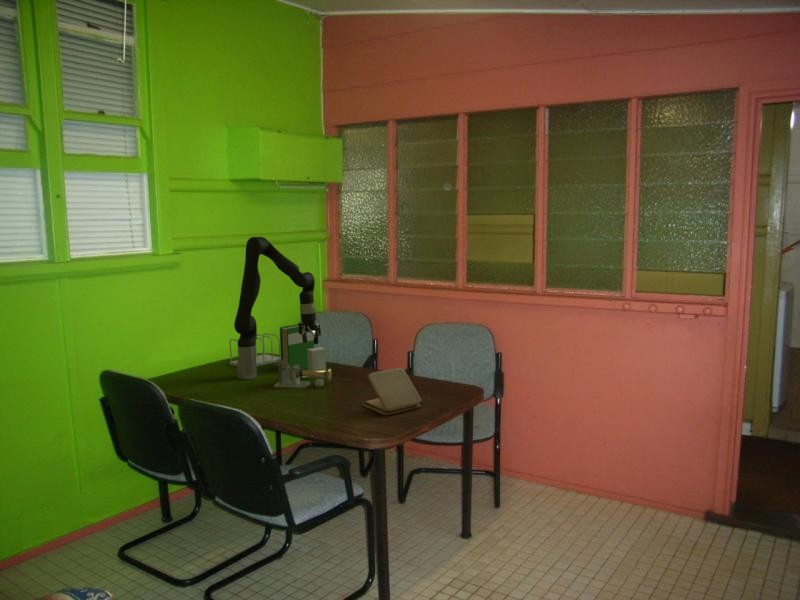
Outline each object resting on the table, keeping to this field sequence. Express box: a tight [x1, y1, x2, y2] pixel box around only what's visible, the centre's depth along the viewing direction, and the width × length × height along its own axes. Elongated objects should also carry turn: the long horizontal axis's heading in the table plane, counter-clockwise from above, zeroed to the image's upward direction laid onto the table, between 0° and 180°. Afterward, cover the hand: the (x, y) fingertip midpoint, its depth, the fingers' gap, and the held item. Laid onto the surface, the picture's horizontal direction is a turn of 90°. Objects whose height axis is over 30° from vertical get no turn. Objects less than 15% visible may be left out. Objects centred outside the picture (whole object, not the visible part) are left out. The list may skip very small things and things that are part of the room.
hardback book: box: [279, 323, 315, 373], centre depth 363 cm, size 18×7×24 cm, turn 136°
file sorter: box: [228, 332, 281, 367], centre depth 377 cm, size 25×17×16 cm
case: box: [362, 367, 422, 416], centre depth 290 cm, size 20×21×16 cm
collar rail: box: [273, 359, 324, 389], centre depth 328 cm, size 24×10×12 cm, turn 83°
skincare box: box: [307, 346, 327, 378], centre depth 346 cm, size 8×6×15 cm
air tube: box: [296, 368, 333, 381], centre depth 327 cm, size 19×6×6 cm, turn 83°
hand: (310, 343), depth 331 cm, fingers open, 8 cm apart
